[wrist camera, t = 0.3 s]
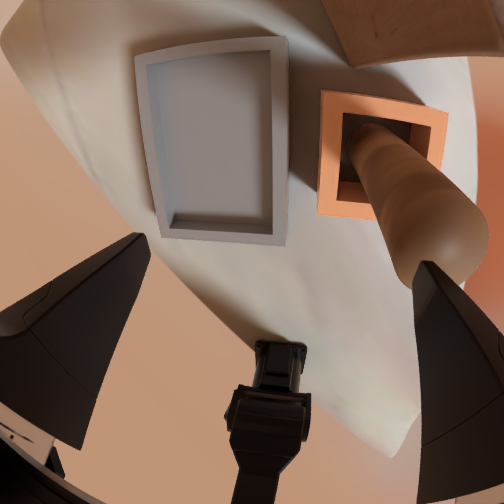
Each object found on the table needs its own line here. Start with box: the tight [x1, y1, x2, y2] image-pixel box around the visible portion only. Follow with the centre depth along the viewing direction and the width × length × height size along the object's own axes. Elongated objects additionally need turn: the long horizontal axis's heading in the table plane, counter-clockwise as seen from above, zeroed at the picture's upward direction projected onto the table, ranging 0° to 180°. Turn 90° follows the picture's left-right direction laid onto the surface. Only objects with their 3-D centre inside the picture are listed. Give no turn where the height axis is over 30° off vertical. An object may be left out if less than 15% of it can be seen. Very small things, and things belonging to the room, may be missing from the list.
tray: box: [134, 36, 289, 246], centre depth 21 cm, size 16×11×2 cm
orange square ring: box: [317, 90, 449, 220], centre depth 18 cm, size 8×8×4 cm
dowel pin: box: [348, 123, 489, 290], centre depth 14 cm, size 4×4×14 cm
